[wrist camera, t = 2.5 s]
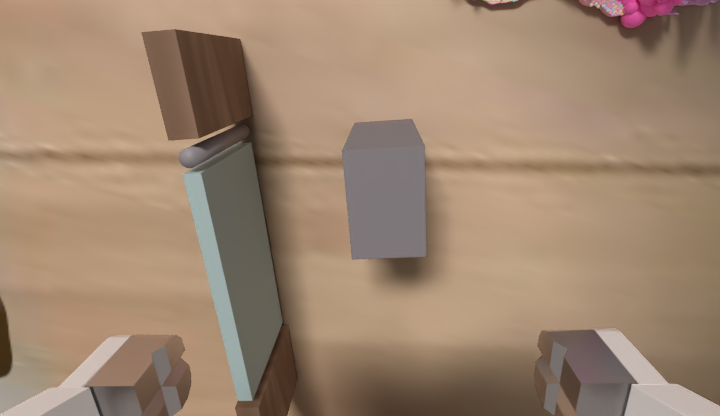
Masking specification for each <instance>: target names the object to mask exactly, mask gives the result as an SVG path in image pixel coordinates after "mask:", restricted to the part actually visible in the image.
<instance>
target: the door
mask: <svg viewBox="0 0 720 416" xmlns="http://www.w3.org/2000/svg"><path fill="white" fill-rule="evenodd" d="M248 136H249V128H248V127H247V126H246V125H244V124H240V125H237V126H235V127H233V128H231V129H229V130H226V131H224V132H222V133H220V134H217V135H215V136H213V137H211V138H208V139H206V140H204V141H202V142H200V143H197V144H195V145H193V146H191V147H188V148H186V149H184V150H182V151H181V152H180V153H179V161H180V163H181V164H182V165H183V166H184V167H186V168H193V167H195V166H196V167H195V168H193V169H191V170H189V171H187V172H186V173H184V174H183V178H184V182H185V186H186V190H187V195H188V199H189V203H190V207H191V211H192V215H193V219H194V223H195V227H196V231H197V235H198V240H199V244H200V248H201V252H202V256H203V260H204V264H205V268H206V272H207V276H208V280H209V285H210V289H211V293H212V297H213V301H214V305H215V309H216V313H217V317H218V321H219V326H220V330H221V334H222V338H223V342H224V346H225V350H226V354H227V358H228V362H229V366H230V371H231V375H232V379H233V383H234V387H235V391H236V395H237V399H238V401H253V398H254V396H255V393H256V391H257V388H258V385H259V383H260V380H261V378H262V375H263V372H264V370H265V367H266V365H267V362H268V359H269V357H270V354H271V352H272V349H273V346H274V344H275V341H276V339H277V336H278V333H279V331H280V328H281V326H282V323H283V321H282V315H281V310H280V304H279V298H278V292H277V287H276V281H275V275H274V269H273V264H272V258H271V252H270V246H269V241H268V235H267V229H266V224H265V218H264V212H263V206H262V201H261V195H260V189H259V183H258V178H257V172H256V166H255V160H254V155H253V149H252V143H251V142H244V143H238V142H239V141H241V140H243V139H245V138H247V137H248ZM236 143H237V144H236ZM234 144H235V145H234ZM232 145H233V146H232ZM229 147H230V148H229ZM227 148H228V149H227ZM225 149H226V150H225ZM222 151H223V152H222ZM220 152H221V153H220ZM218 153H219V154H218ZM216 154H217V155H216ZM215 155H216V156H215ZM213 156H214V157H213ZM211 157H212V158H211ZM209 158H210V159H209ZM208 159H209V160H208ZM206 160H207V161H206ZM204 161H205V162H204ZM202 162H203V163H202ZM200 163H202V164H200ZM199 164H200V165H199ZM197 165H198V166H197Z"/></svg>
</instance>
